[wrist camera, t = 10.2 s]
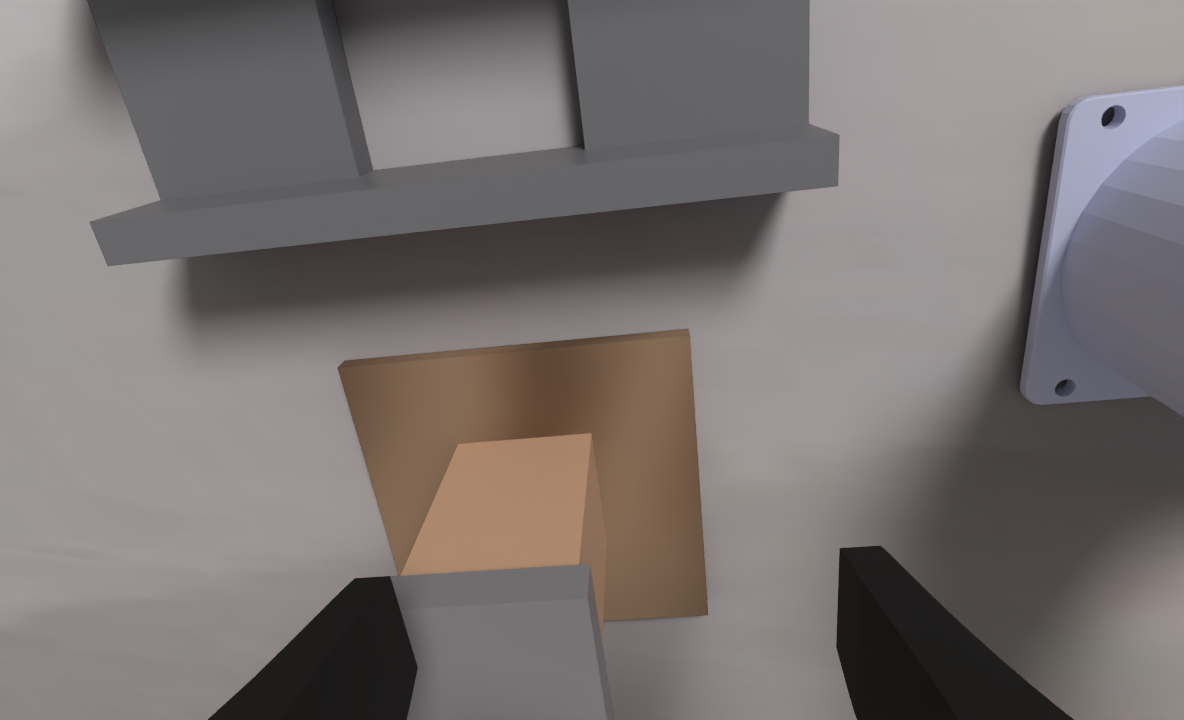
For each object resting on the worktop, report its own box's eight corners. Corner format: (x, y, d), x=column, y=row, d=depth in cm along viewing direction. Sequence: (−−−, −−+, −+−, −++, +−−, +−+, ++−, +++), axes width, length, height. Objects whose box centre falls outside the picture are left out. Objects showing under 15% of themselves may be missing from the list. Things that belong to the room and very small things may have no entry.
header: (799, -218, 14) (850, -299, 11) (798, 162, 17) (838, 186, 14) (80, -101, 15) (-62, -142, 12) (197, 230, 18) (107, 266, 15)
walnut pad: (688, 328, 19) (689, 335, 18) (706, 604, 23) (708, 615, 22) (344, 360, 20) (337, 368, 19) (419, 620, 24) (415, 630, 23)
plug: (600, 423, 20) (587, 598, 13) (616, 550, 22) (613, 756, 15) (446, 436, 20) (362, 611, 14) (475, 559, 22) (413, 764, 16)
